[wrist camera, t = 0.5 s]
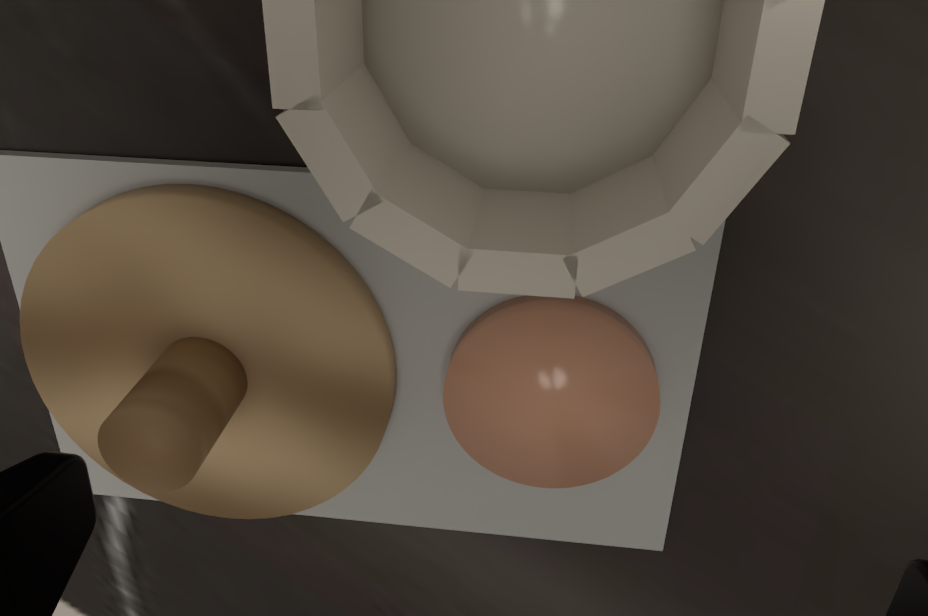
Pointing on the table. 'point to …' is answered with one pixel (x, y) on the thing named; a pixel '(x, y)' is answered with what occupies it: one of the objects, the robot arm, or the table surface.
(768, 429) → the table surface
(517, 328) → the pink glossy dome
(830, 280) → the table surface
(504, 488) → the mat
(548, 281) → the bowl
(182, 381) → the lid
